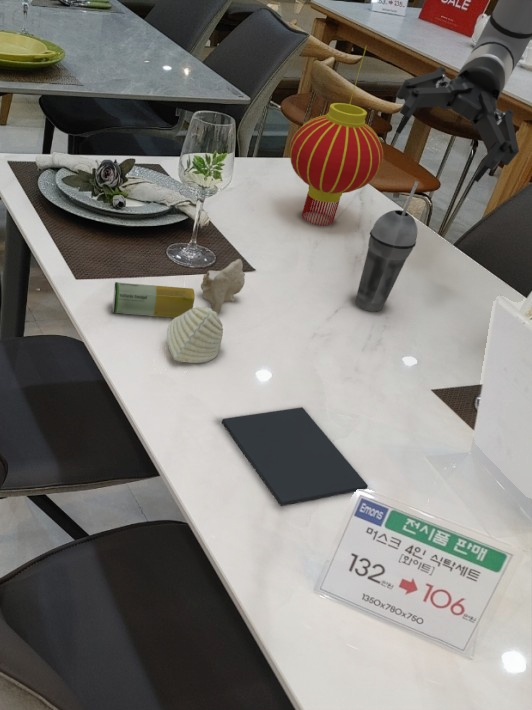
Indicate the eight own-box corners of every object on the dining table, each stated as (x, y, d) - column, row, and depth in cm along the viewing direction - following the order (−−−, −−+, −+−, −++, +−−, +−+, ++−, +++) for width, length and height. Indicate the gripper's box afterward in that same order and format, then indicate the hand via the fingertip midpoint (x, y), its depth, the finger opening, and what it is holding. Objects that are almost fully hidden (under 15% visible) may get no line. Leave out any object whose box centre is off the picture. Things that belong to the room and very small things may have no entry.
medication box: (112, 314, 115) (114, 291, 112) (112, 303, 116) (114, 280, 113) (191, 320, 116) (195, 297, 113) (190, 309, 117) (194, 286, 114)
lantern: (316, 196, 159) (363, 30, 139) (378, 231, 150) (437, 59, 129) (256, 207, 151) (296, 32, 130) (317, 244, 142) (370, 63, 121)
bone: (213, 273, 125) (248, 235, 116) (237, 304, 125) (273, 269, 117) (180, 291, 120) (214, 253, 112) (205, 324, 120) (240, 289, 112)
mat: (366, 489, 92) (368, 485, 92) (280, 505, 88) (282, 502, 88) (301, 410, 103) (302, 407, 102) (221, 422, 98) (222, 418, 98)
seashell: (239, 331, 111) (235, 329, 103) (201, 376, 113) (194, 378, 106) (196, 294, 111) (190, 290, 103) (159, 340, 113) (150, 339, 106)
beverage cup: (338, 300, 127) (378, 177, 113) (364, 289, 131) (406, 170, 117) (373, 320, 123) (419, 196, 110) (399, 309, 127) (446, 187, 113)
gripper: (531, 142, 126) (497, 213, 116) (402, 62, 126) (357, 126, 116) (564, 101, 119) (531, 173, 109) (428, 17, 119) (383, 81, 109)
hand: (441, 149), depth 113 cm, fingers open, 13 cm apart
